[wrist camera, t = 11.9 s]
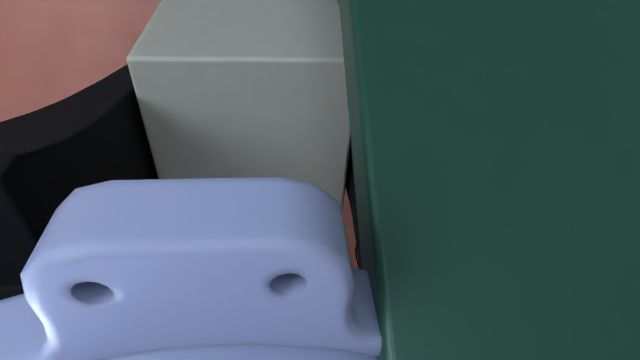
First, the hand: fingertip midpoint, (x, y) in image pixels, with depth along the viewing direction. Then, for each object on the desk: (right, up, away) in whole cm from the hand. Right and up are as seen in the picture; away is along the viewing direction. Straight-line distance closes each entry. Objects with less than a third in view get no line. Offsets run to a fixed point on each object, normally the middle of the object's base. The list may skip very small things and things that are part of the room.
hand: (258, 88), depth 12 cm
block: (0, +1, +1) cm, 1 cm away
